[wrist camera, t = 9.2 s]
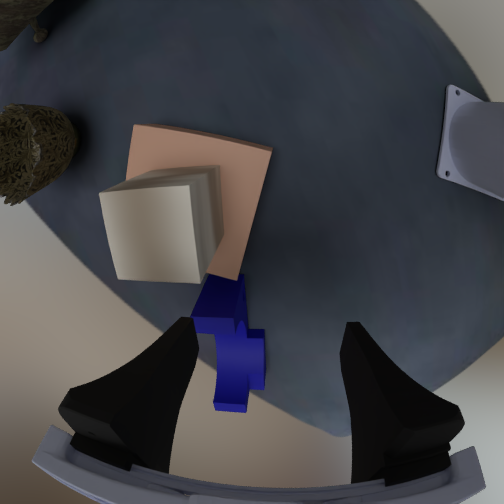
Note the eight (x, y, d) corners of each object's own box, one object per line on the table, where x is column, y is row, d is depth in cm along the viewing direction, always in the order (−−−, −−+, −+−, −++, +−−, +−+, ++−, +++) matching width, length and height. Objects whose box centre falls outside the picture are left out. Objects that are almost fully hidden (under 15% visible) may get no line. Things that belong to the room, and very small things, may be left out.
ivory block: (219, 164, 16) (189, 185, 11) (224, 234, 18) (200, 283, 13) (151, 169, 16) (99, 192, 11) (160, 234, 18) (118, 279, 13)
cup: (48, 103, 18) (-15, 110, 10) (105, 98, 18) (36, 97, 10) (45, 176, 21) (-14, 201, 14) (98, 182, 21) (35, 212, 14)
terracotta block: (272, 147, 19) (271, 151, 15) (243, 255, 23) (236, 280, 19) (158, 123, 19) (134, 124, 15) (143, 228, 23) (121, 247, 19)
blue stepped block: (266, 368, 28) (262, 413, 23) (225, 366, 29) (215, 410, 23) (261, 273, 23) (255, 318, 18) (209, 273, 24) (190, 316, 18)
